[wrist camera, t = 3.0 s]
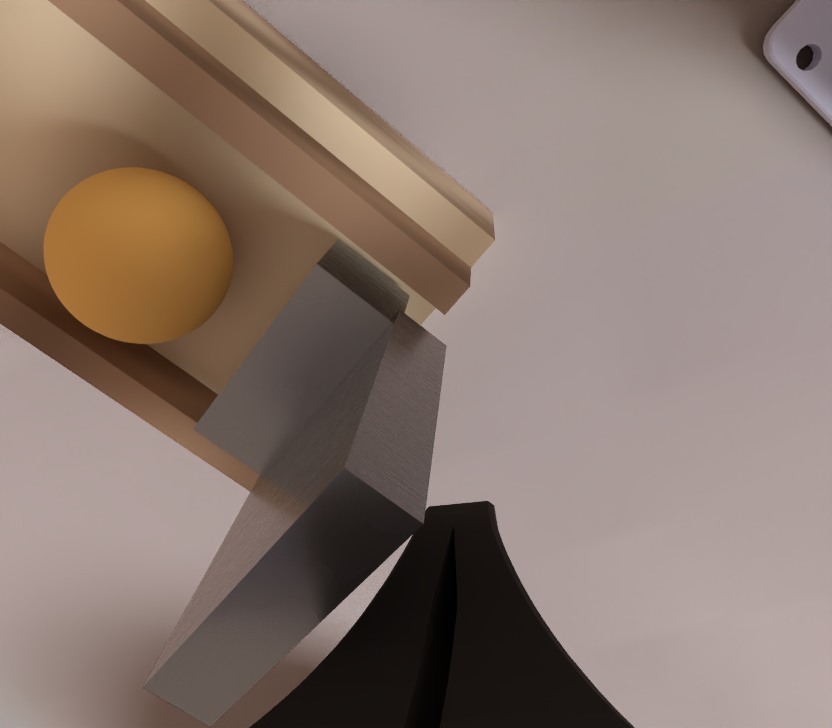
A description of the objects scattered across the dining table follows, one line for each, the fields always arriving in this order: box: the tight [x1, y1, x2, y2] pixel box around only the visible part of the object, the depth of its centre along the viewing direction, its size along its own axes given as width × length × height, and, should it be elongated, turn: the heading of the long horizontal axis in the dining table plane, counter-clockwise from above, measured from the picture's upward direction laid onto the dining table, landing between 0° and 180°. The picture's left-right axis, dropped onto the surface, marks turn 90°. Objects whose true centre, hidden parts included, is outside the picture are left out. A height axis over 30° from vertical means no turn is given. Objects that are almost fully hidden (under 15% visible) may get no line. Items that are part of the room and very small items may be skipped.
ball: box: [43, 167, 233, 344], centre depth 13 cm, size 4×4×4 cm
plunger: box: [142, 239, 446, 727], centre depth 12 cm, size 3×5×7 cm, turn 142°
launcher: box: [0, 0, 495, 492], centre depth 15 cm, size 12×9×4 cm
